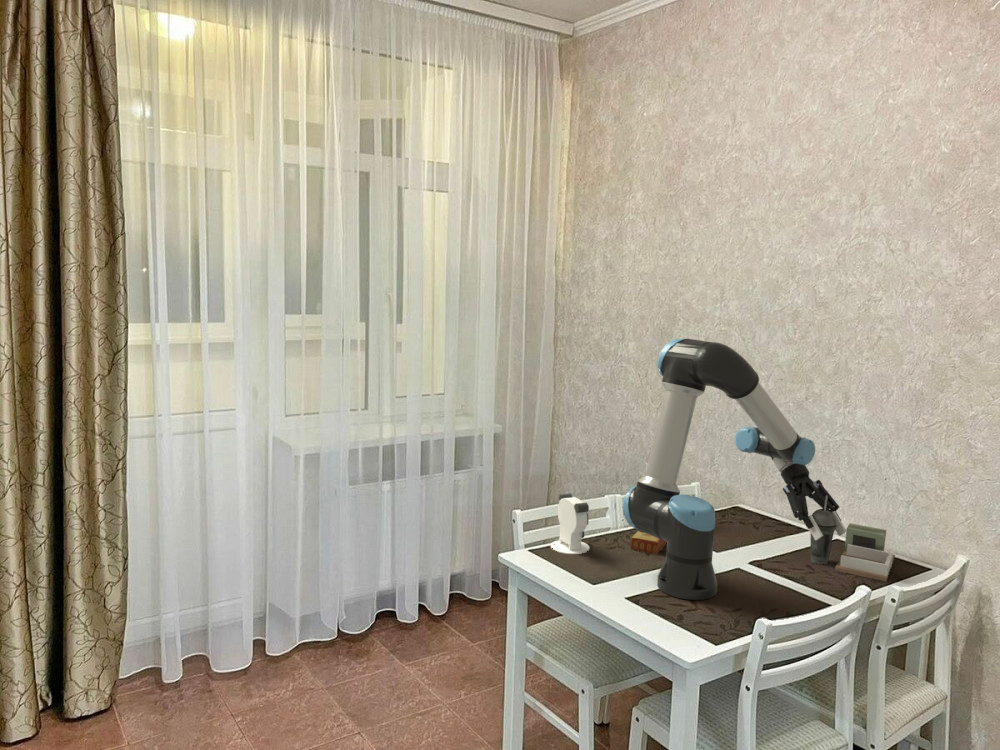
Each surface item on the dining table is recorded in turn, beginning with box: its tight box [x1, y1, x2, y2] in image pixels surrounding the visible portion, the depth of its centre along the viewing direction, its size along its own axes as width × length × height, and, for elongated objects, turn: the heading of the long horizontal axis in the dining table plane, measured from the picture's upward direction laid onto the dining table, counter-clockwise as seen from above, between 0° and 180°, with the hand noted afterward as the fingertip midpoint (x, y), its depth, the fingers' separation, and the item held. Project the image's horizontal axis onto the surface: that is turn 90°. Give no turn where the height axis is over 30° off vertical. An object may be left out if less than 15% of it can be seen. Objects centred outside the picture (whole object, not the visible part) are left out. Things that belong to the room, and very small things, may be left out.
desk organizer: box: [834, 522, 896, 582], centre depth 223 cm, size 22×13×8 cm, turn 148°
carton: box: [630, 530, 667, 555], centre depth 235 cm, size 8×16×4 cm, turn 154°
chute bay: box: [840, 544, 894, 577], centre depth 221 cm, size 12×12×3 cm
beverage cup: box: [810, 495, 837, 565], centre depth 223 cm, size 7×7×20 cm
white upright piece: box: [550, 493, 590, 555], centre depth 228 cm, size 12×11×15 cm
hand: (831, 535), depth 221 cm, fingers open, 9 cm apart
